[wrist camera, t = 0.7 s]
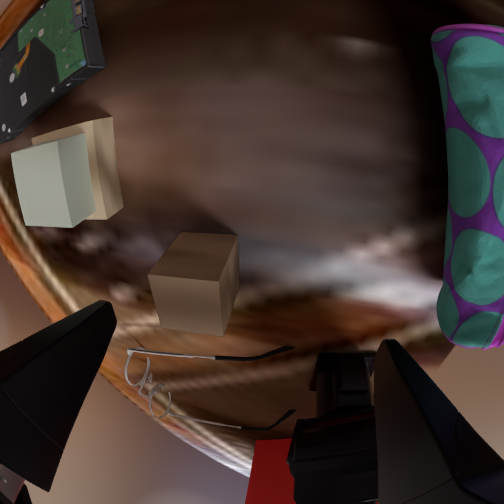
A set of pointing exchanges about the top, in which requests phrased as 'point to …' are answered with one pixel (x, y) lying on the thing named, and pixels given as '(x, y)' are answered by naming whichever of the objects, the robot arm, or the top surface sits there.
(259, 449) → the book
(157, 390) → the eyeglasses
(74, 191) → the tower top
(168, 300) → the walnut block
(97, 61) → the disk drive
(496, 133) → the pencil case
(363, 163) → the top surface
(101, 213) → the tower base
